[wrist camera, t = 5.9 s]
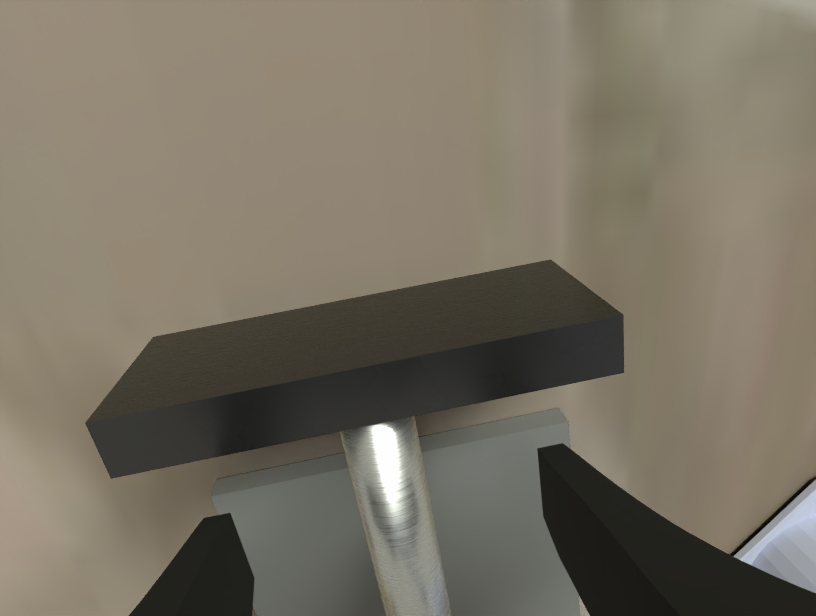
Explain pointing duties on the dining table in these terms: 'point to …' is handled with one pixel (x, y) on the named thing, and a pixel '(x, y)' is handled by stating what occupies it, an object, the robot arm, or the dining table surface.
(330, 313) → the grey and silver t-piece
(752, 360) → the dining table surface
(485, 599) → the mat
